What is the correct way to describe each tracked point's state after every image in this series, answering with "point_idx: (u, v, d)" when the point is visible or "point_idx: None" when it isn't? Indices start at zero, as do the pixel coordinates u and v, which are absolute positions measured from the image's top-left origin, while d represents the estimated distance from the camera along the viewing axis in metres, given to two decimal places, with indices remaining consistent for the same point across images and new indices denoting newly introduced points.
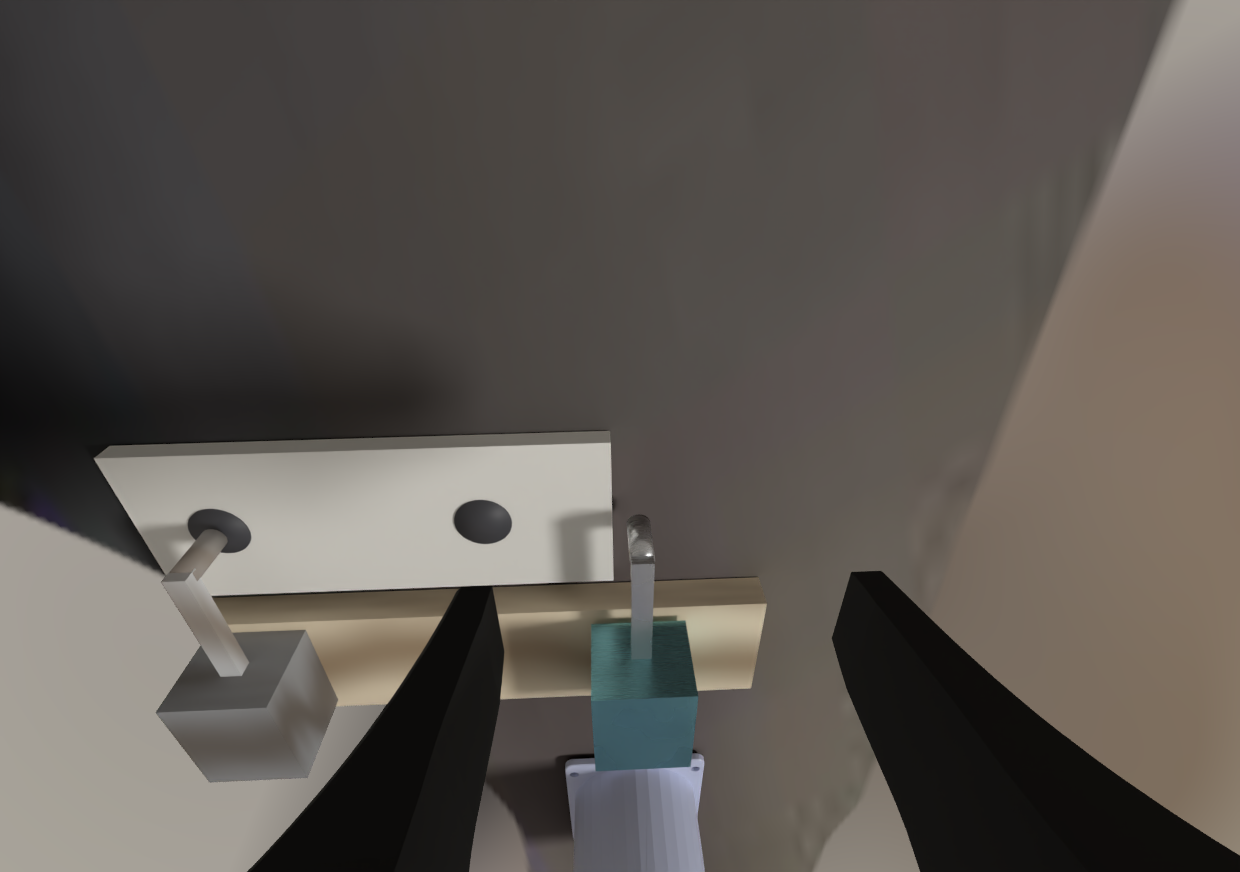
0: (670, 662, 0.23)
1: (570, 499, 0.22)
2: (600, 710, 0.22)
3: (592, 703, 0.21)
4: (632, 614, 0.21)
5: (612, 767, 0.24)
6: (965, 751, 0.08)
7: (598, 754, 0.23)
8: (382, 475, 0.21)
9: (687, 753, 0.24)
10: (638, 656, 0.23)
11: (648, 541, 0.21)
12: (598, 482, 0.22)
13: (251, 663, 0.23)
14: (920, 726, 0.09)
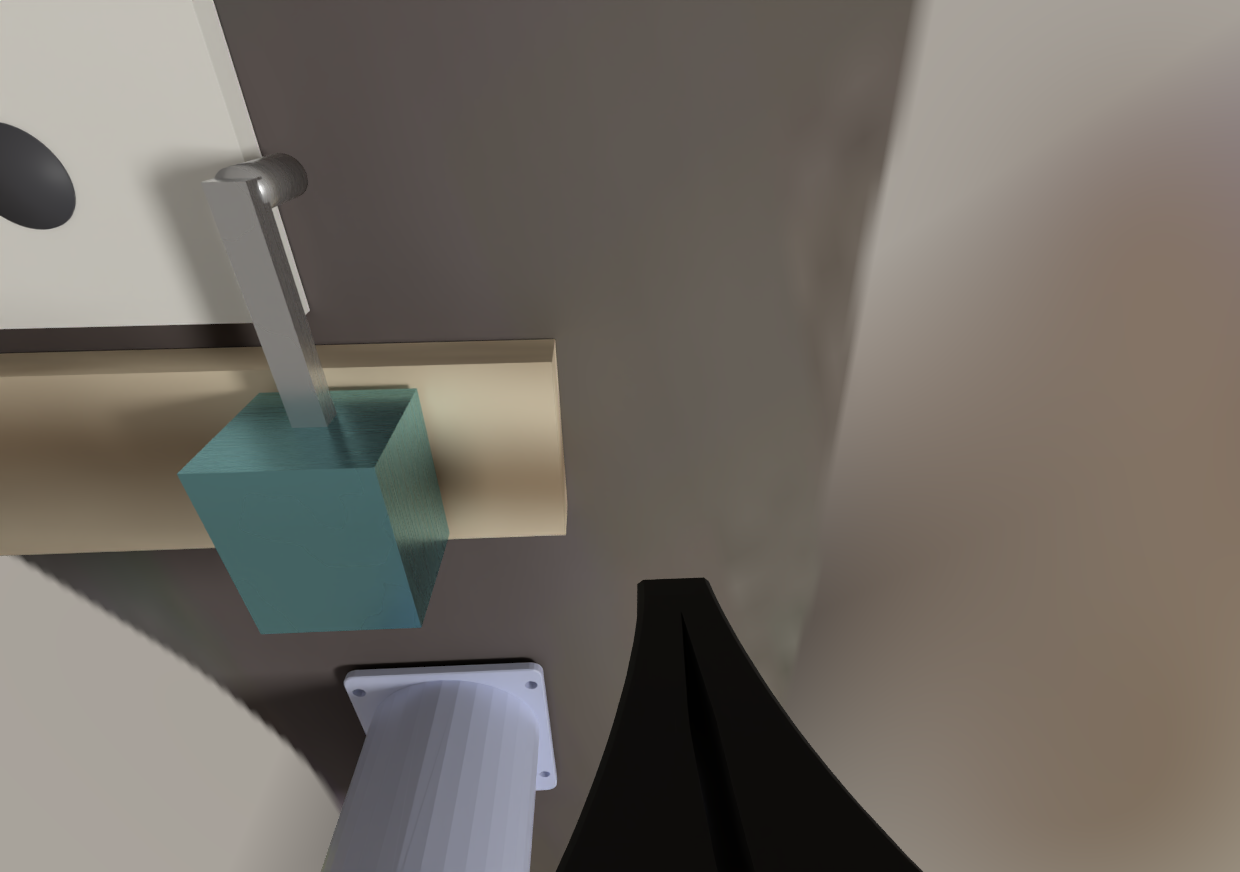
0: (355, 430, 0.13)
1: (157, 125, 0.12)
2: (206, 497, 0.12)
3: (182, 480, 0.12)
4: (254, 318, 0.12)
5: (287, 626, 0.14)
6: (719, 763, 0.08)
7: (248, 597, 0.14)
8: None
9: (404, 598, 0.14)
10: (301, 420, 0.13)
11: (259, 166, 0.11)
12: (195, 82, 0.12)
13: None
14: (703, 737, 0.09)
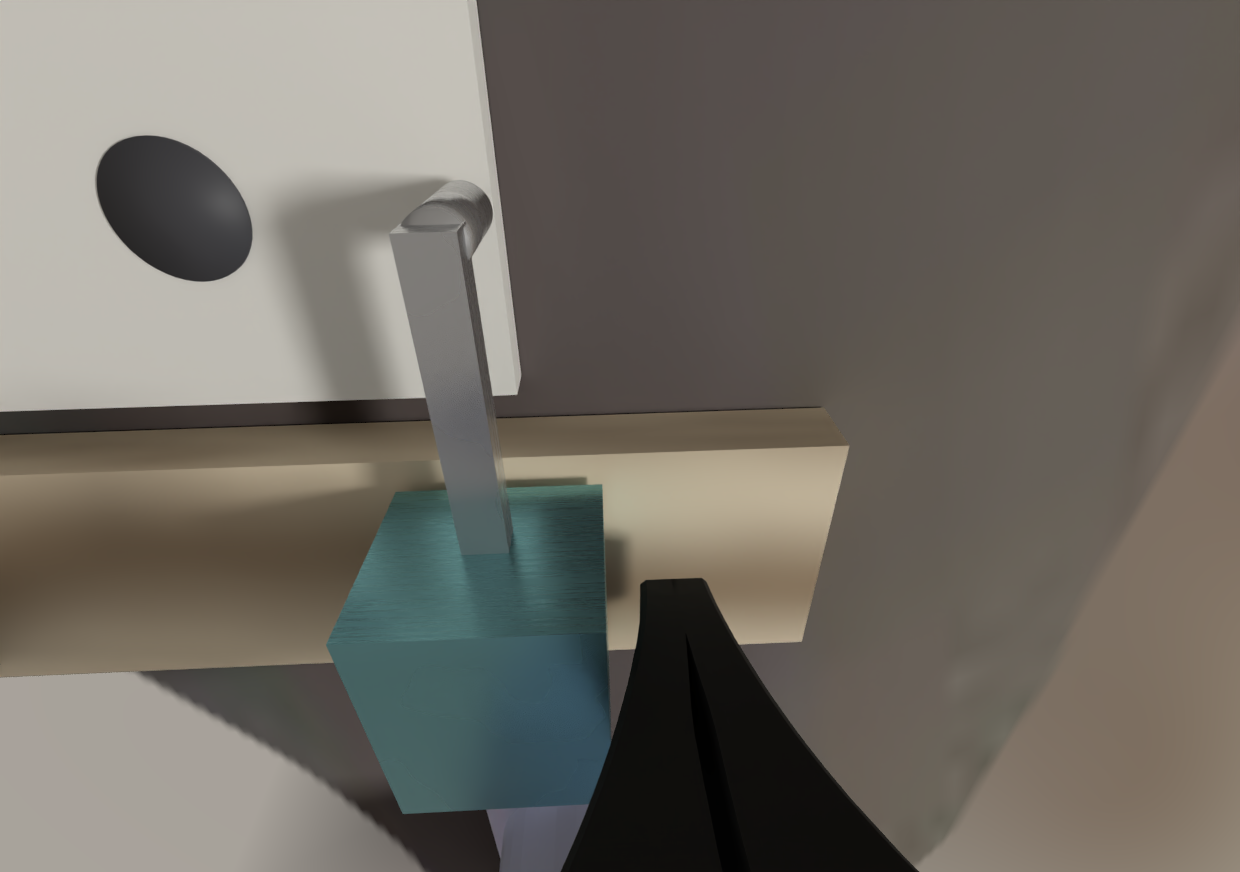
0: (551, 560, 0.10)
1: (380, 139, 0.09)
2: (361, 671, 0.09)
3: (332, 651, 0.08)
4: (434, 420, 0.08)
5: (438, 805, 0.11)
6: (716, 763, 0.08)
7: (394, 777, 0.10)
8: None
9: None
10: (475, 546, 0.10)
11: (456, 204, 0.08)
12: (443, 78, 0.08)
13: None
14: (700, 737, 0.09)
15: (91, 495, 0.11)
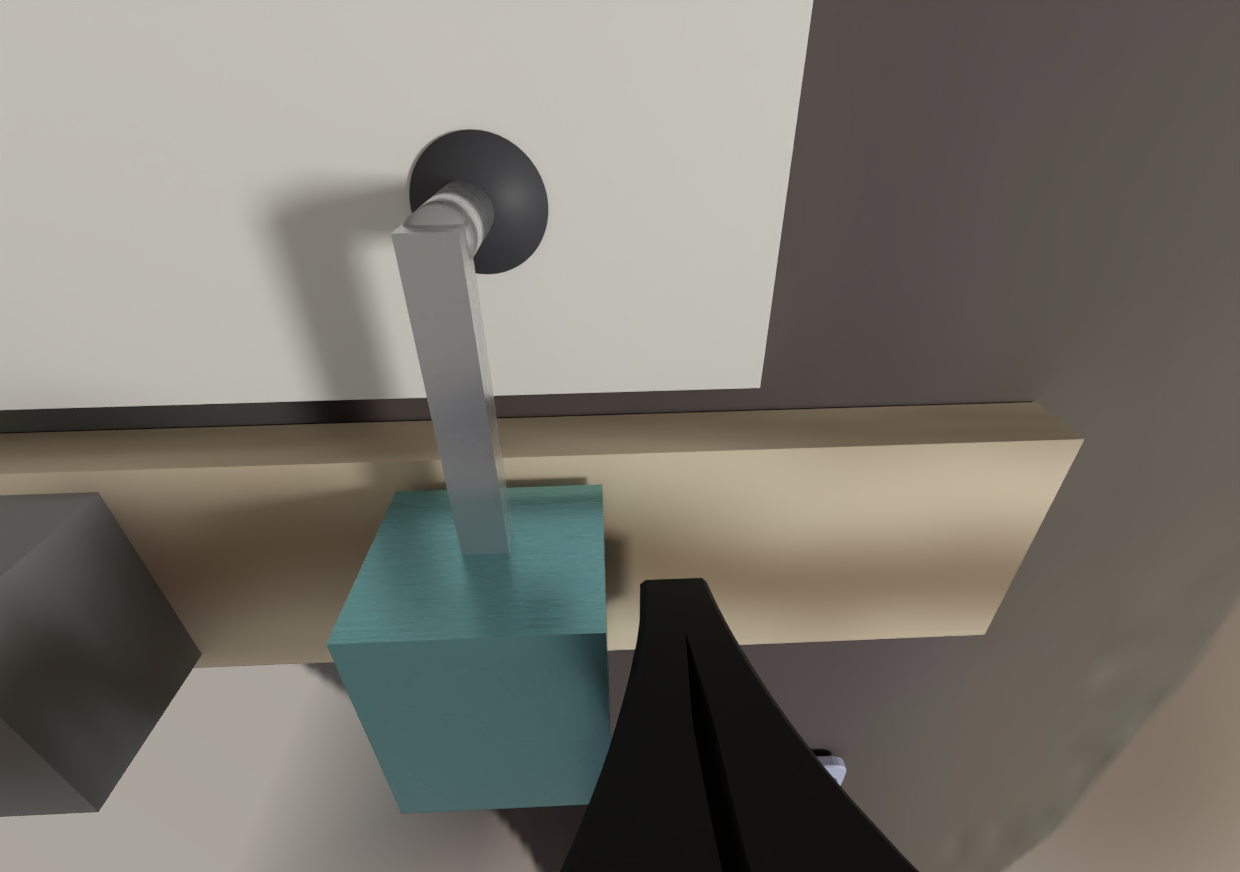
0: (550, 560, 0.10)
1: (694, 134, 0.09)
2: (361, 670, 0.09)
3: (332, 651, 0.08)
4: (435, 420, 0.08)
5: (437, 805, 0.11)
6: (716, 763, 0.08)
7: (394, 776, 0.10)
8: (213, 28, 0.08)
9: None
10: (476, 546, 0.10)
11: (459, 204, 0.08)
12: (771, 74, 0.09)
13: None
14: (701, 737, 0.09)
15: (337, 485, 0.11)
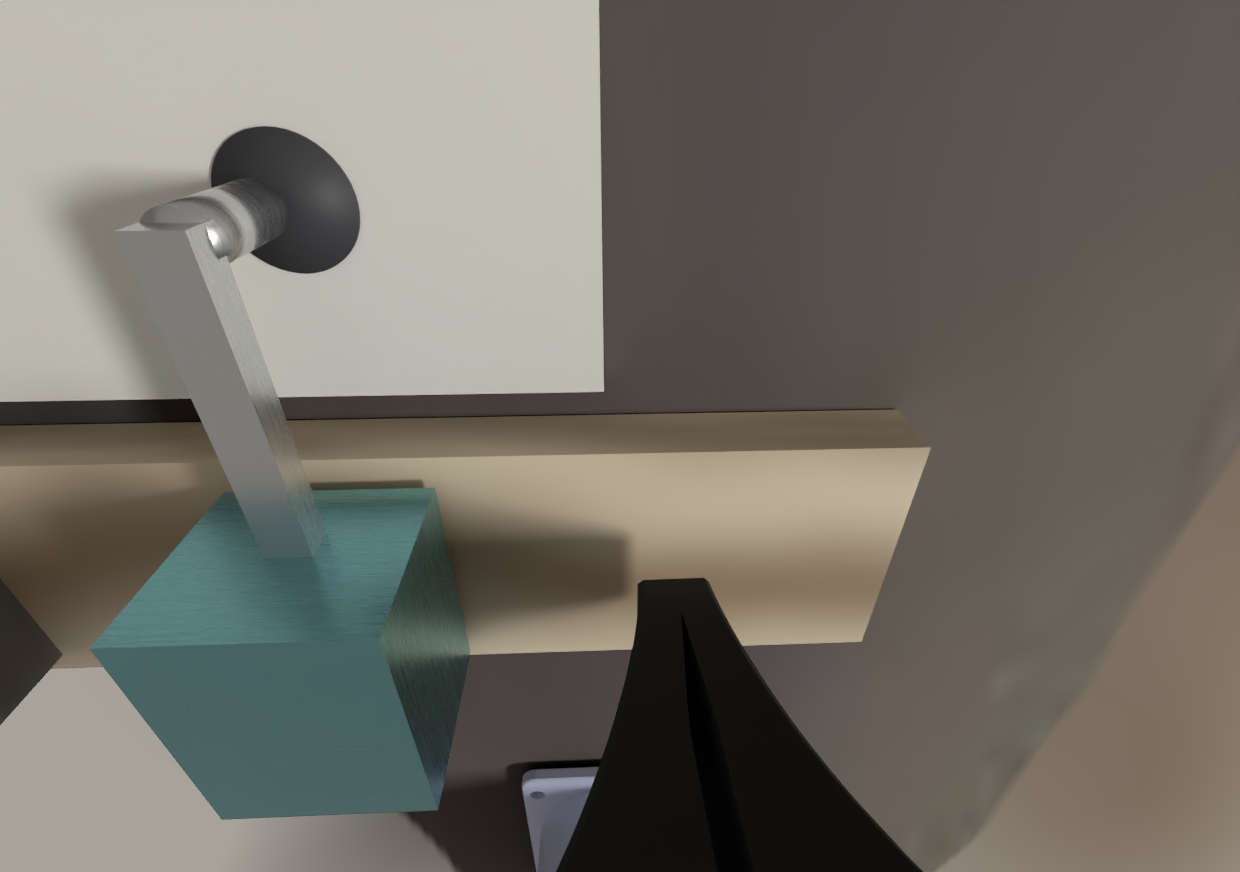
0: (352, 565, 0.09)
1: (497, 135, 0.09)
2: (134, 675, 0.08)
3: (98, 655, 0.08)
4: (205, 421, 0.08)
5: (257, 811, 0.11)
6: (719, 763, 0.08)
7: (202, 782, 0.10)
8: None
9: (416, 781, 0.10)
10: (276, 549, 0.09)
11: (210, 202, 0.07)
12: (567, 75, 0.08)
13: None
14: (704, 737, 0.09)
15: (175, 486, 0.11)
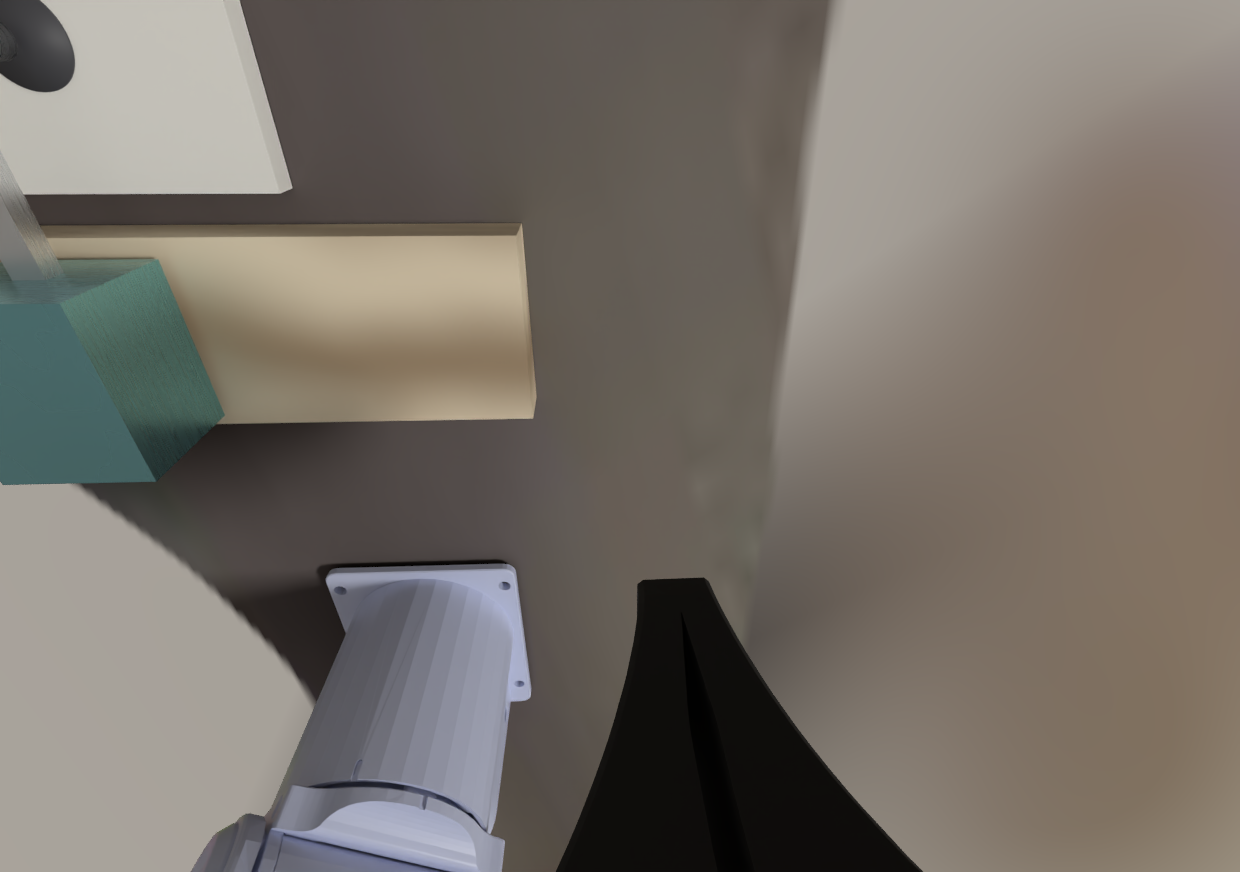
0: (68, 282, 0.14)
1: None
2: None
3: None
4: None
5: (26, 477, 0.15)
6: (719, 763, 0.08)
7: None
8: None
9: (130, 448, 0.15)
10: (18, 272, 0.14)
11: None
12: None
13: None
14: (704, 737, 0.09)
15: None
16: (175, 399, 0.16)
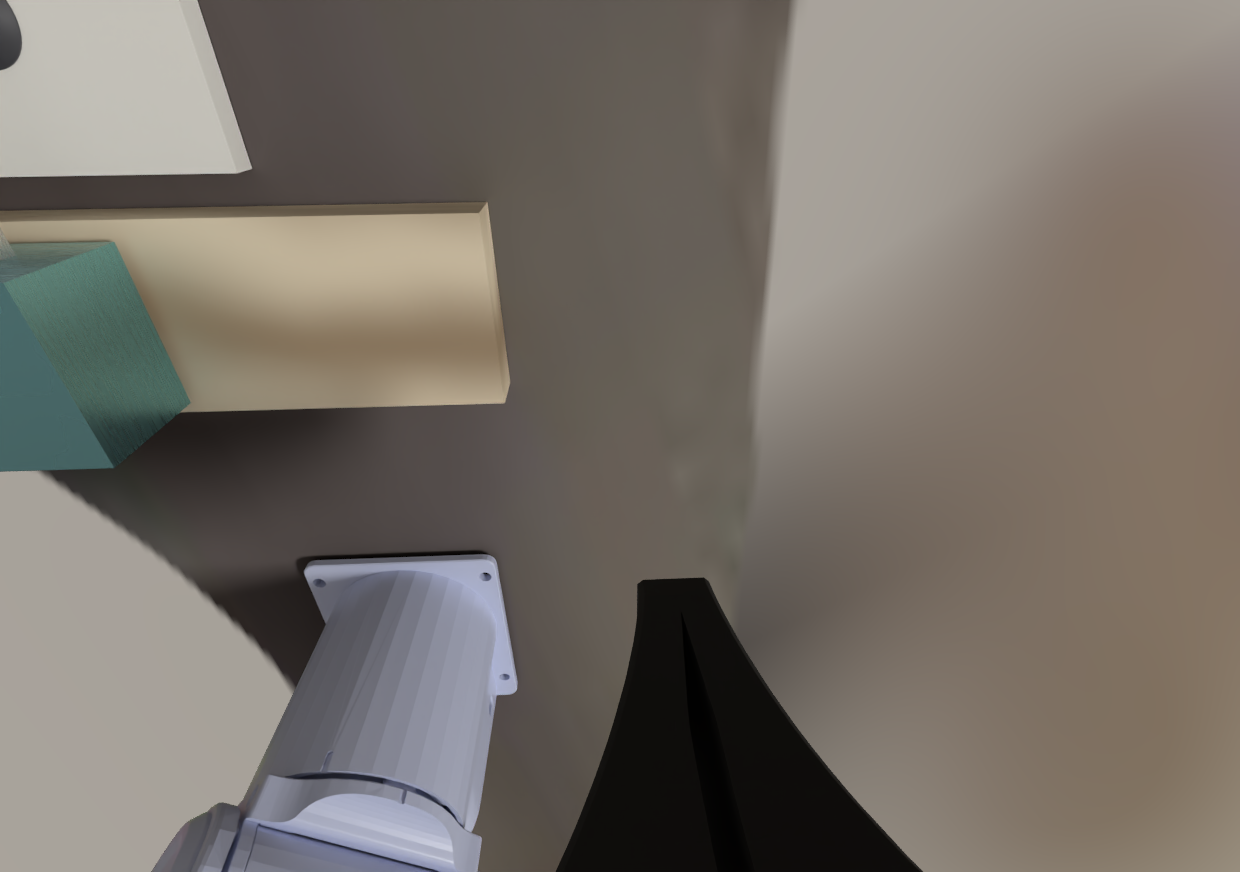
0: (17, 264, 0.14)
1: None
2: None
3: None
4: None
5: None
6: (719, 763, 0.08)
7: None
8: None
9: (85, 433, 0.15)
10: None
11: None
12: None
13: None
14: (703, 737, 0.09)
15: None
16: (135, 385, 0.16)
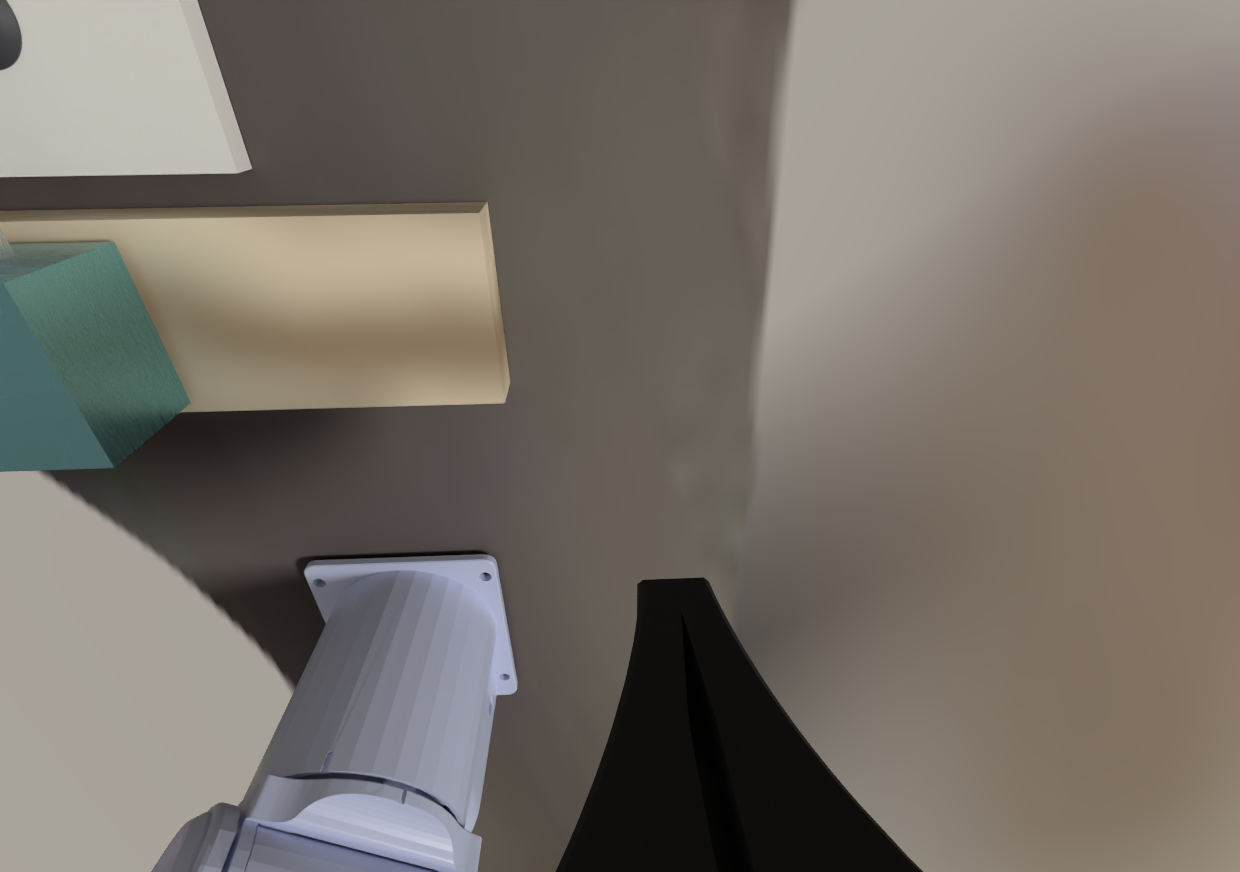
0: (17, 264, 0.14)
1: None
2: None
3: None
4: None
5: None
6: (719, 763, 0.08)
7: None
8: None
9: (85, 433, 0.15)
10: None
11: None
12: None
13: None
14: (703, 737, 0.09)
15: None
16: (135, 385, 0.16)
